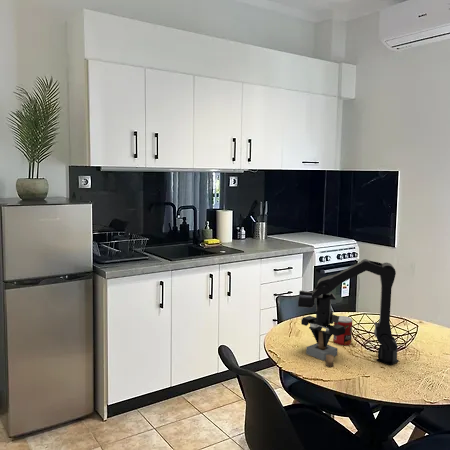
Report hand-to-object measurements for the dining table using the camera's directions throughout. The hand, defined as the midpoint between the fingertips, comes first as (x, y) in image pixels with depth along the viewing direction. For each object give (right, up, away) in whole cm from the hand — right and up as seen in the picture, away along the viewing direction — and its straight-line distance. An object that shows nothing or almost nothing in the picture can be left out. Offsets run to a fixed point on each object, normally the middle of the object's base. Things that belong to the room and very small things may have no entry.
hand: (322, 345), depth 196 cm
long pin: (0, -3, 0) cm, 3 cm away
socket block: (0, -4, 0) cm, 4 cm away
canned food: (+12, -3, +15) cm, 19 cm away
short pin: (+1, -5, -10) cm, 12 cm away
